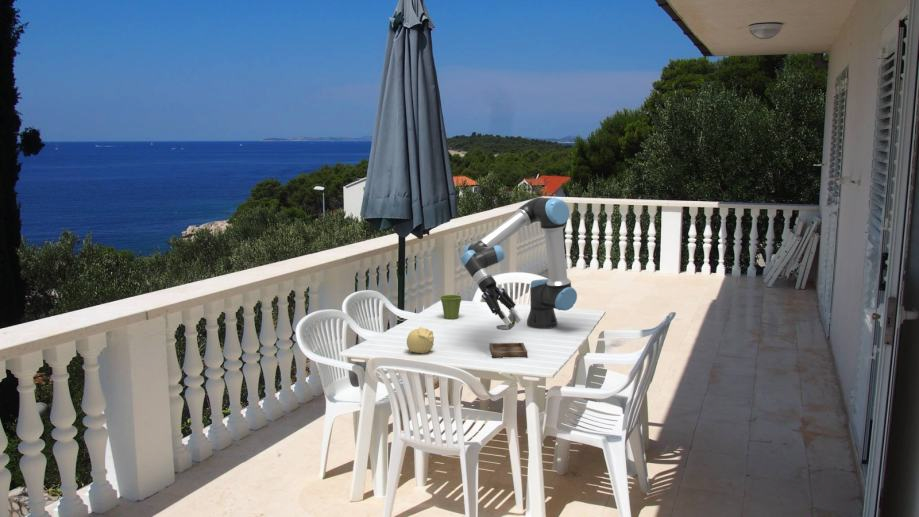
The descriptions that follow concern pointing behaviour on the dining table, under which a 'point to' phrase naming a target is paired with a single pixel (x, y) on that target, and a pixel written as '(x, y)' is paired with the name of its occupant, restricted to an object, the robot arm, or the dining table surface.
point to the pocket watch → (511, 325)
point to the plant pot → (451, 305)
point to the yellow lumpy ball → (420, 340)
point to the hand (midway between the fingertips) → (514, 322)
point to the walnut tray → (508, 350)
